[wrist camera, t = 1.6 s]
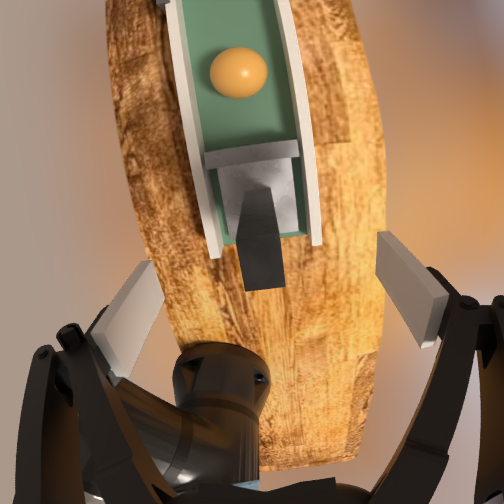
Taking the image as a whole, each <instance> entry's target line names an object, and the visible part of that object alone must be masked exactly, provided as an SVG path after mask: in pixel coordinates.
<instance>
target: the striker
mask: <svg viewBox="0 0 504 504" xmlns="http://www.w3.org/2000/svg"><path fill="white" fill-rule="evenodd" d="M203 154H204V160H205V165H206V170H209V169H214V168H217V172H218V178H219V183H220V189H221V194H222V199H223V205H224V210H225V215H226V221H227V226H228V231H229V236H230V240H233V239H235V240H236V245H237V251H238V256H239V261H240V267H241V272H242V277H243V282H244V288H245V292H246V291H255V290H263V289H271V288H280V287H286V286H285V276H284V267H283V259H282V250H281V242H280V233H287V232H295V231H299V228H298V218H297V208H296V198H295V189H294V181H293V172H292V164H291V158H292V157H299V150H298V142H297V139H294V138H287V139H278V140H270V141H262V142H255V143H248V144H241V145H235V146H229V147H223V148H217V149H211V150H209V151H207V152H205V153H203Z"/></svg>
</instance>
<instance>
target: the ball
mask: <svg viewBox="0 0 504 504" xmlns="http://www.w3.org/2000/svg"><path fill="white" fill-rule="evenodd" d="M267 75H268V71H267V65H266V63H265V61H264V59H263V58H262V57H261V56H260V55H259V54H258V53H257V52H256V51H254V50H252V49H249V48H246V47H232V48H229V49H226V50H224V51H222V52H221V53H220V54H218V55H217V56H216V58H215V59H214V60H213V62H212V64H211V68H210V79H211V82H212V84H213V86H214V88H215V89H216V90H217V91H218V92H219V93H220V94H222V95H224V96H226V97H228V98H232V99H244V98H248V97H251V96H253V95H255V94H256V93H257V92H259V91H260V90H261V89H262V87H263V86H264V84H265V82H266V80H267Z"/></svg>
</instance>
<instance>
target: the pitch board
mask: <svg viewBox="0 0 504 504" xmlns="http://www.w3.org/2000/svg"><path fill="white" fill-rule="evenodd" d="M165 6H166V15H167V23H168V31H169V39H170V46H171V53H172V60H173V67H174V74H175V80H176V87H177V93H178V99H179V105H180V111H181V117H182V122H183V128H184V133H185V139H186V144H187V150H188V155H189V160H190V165H191V170H192V176H193V180H194V185H195V190H196V195H197V200H198V205H199V209H200V214H201V219H202V223H203V228H204V232H205V237H206V241H207V246H208V250H209V254H210V259H214V258H220V257H221V254H222V250H223V246H224V245H230V244H236V240H235V239H233V240H230V236H229V231H228V226H227V221H226V215H225V210H224V205H223V199H222V194H221V189H220V183H219V178H218V172H217V168H214V169H209V170H206V165H205V160H204V154H203V153H205V152H207V151H209V150H211V149H217V148H223V147H229V146H235V145H241V144H248V143H255V142H262V141H270V140H278V139H287V138H294V139H297V142H298V150H299V157H292V158H291V164H292V172H293V181H294V189H295V198H296V208H297V218H298V228H299V231H295V232H287V233H280V238H284V237H292V236H300V235H308V237H309V240H310V242H311V244H312V246H316V245H322V232H321V216H320V203H319V191H318V180H317V169H316V160H315V150H314V142H313V134H312V126H311V118H310V111H309V104H308V97H307V91H306V85H305V79H304V73H303V67H302V61H301V56H300V50H299V45H298V40H297V35H296V30H295V26H294V21H293V16H292V12H291V8H290V3H289V0H170V3H168V4H165ZM232 47H246V48H249V49H252V50H254V51H256V52H257V53H258V54H259V55H260V56H261V57H262V58H263V59H264V61H265V63H266V65H267V71H268V75H267V80H266V82H265V84H264V86H263V87H262V89H261V90H260V91H259V92H257V93H256V94H255V95H253V96H251V97H248V98H244V99H232V98H228V97H226V96H224V95H222V94H220V93H219V92H218V91H217V90H216V89H215V88H214V86H213V84H212V82H211V79H210V68H211V64H212V62H213V60H214V59H215V58H216V56H217V55H218V54H220V53H221V52H222V51H224V50H226V49H229V48H232Z"/></svg>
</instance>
